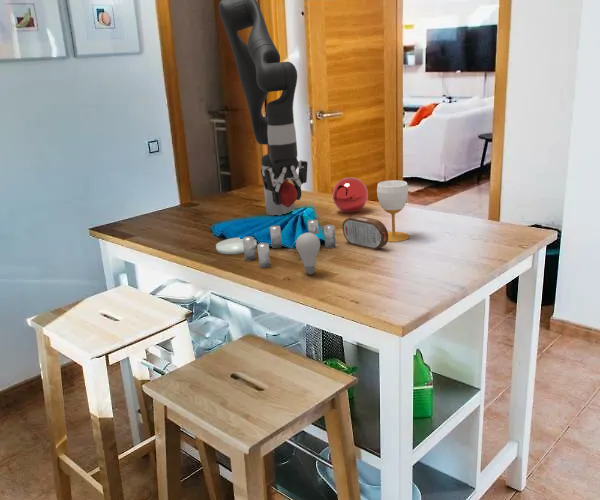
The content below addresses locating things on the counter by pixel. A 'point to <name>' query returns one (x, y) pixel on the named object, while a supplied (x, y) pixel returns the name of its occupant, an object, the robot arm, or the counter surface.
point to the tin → (365, 232)
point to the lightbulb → (308, 250)
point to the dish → (232, 246)
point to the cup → (393, 203)
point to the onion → (287, 193)
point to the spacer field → (276, 242)
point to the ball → (350, 195)
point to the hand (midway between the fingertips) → (287, 201)
